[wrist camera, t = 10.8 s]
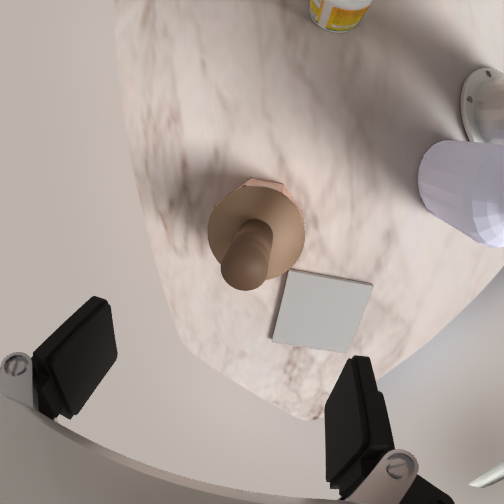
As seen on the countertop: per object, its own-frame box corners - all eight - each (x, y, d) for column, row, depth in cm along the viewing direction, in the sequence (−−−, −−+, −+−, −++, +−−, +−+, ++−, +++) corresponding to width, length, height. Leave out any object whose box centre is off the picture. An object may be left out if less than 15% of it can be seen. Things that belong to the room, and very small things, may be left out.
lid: (313, 195, 24) (324, 218, 17) (293, 283, 27) (294, 333, 20) (216, 178, 25) (186, 193, 17) (206, 266, 28) (178, 310, 20)
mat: (372, 284, 32) (373, 286, 31) (346, 350, 36) (346, 353, 35) (288, 268, 32) (288, 270, 32) (271, 339, 36) (271, 341, 35)
